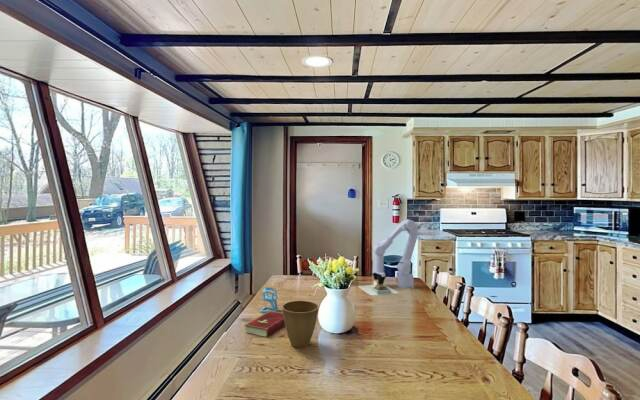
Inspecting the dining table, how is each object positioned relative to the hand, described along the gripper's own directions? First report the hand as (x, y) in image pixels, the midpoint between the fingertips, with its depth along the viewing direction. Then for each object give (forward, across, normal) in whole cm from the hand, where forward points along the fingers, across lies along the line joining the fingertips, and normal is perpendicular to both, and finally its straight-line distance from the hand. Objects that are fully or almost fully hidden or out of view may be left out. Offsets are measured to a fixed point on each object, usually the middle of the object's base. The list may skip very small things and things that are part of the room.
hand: (378, 285), depth 245 cm
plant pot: (+2, +72, -68) cm, 99 cm away
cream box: (+1, 0, 0) cm, 1 cm away
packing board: (+2, +6, -3) cm, 7 cm away
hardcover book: (+2, +49, -78) cm, 92 cm away
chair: (+2, +27, -74) cm, 79 cm away
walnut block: (+1, +12, -4) cm, 13 cm away
